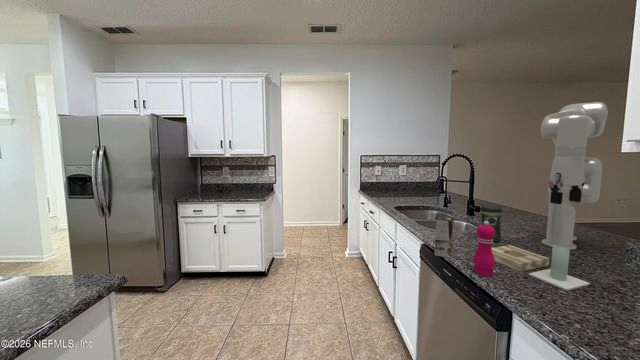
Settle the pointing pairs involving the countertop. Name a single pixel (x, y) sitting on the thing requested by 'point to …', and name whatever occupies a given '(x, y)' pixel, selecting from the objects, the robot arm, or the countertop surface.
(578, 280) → the mat
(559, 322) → the countertop surface
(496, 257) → the wooden square frame
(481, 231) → the pepper mill
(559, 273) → the peg
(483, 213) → the coffee jar
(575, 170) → the robot arm
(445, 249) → the coffee box
